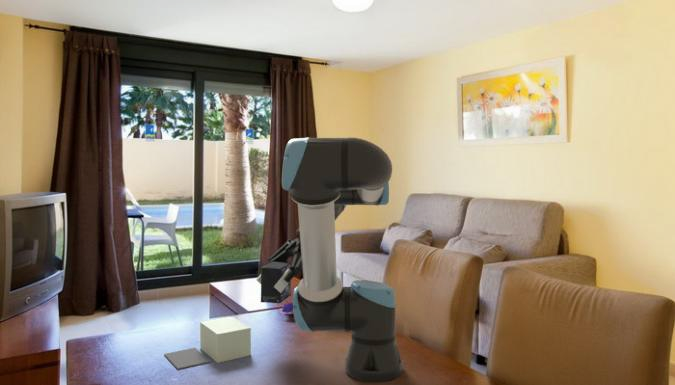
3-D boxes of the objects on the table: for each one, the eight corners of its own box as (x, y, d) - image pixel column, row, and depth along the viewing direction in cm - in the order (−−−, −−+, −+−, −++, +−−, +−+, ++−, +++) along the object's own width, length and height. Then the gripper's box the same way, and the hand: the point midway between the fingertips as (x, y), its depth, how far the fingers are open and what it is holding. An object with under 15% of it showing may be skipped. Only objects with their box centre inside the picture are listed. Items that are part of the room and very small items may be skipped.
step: (250, 355, 141) (250, 327, 140) (217, 362, 135) (217, 334, 135) (231, 342, 152) (231, 316, 152) (200, 348, 146) (200, 322, 146)
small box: (281, 304, 140) (281, 267, 140) (260, 303, 142) (259, 267, 141) (292, 295, 151) (291, 261, 150) (272, 294, 152) (271, 261, 152)
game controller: (277, 302, 186) (303, 297, 186) (281, 324, 184) (307, 318, 184) (273, 301, 176) (300, 295, 177) (277, 324, 174) (304, 318, 175)
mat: (210, 362, 135) (210, 360, 135) (177, 369, 130) (177, 368, 130) (195, 348, 146) (194, 347, 146) (164, 355, 141) (164, 353, 141)
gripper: (340, 242, 145) (295, 301, 136) (300, 235, 164) (259, 286, 156) (325, 225, 142) (278, 285, 133) (286, 220, 161) (243, 272, 153)
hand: (268, 286), depth 144 cm, fingers closed on small box, 11 cm apart
